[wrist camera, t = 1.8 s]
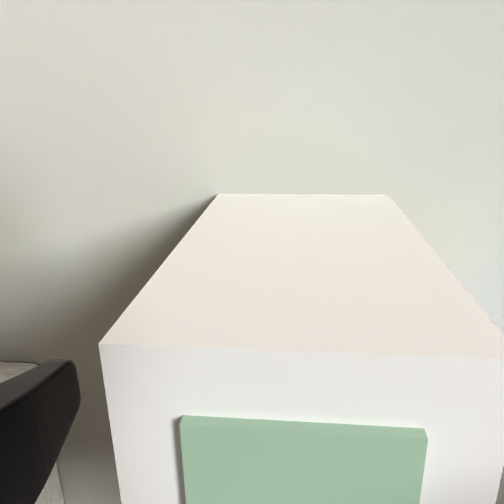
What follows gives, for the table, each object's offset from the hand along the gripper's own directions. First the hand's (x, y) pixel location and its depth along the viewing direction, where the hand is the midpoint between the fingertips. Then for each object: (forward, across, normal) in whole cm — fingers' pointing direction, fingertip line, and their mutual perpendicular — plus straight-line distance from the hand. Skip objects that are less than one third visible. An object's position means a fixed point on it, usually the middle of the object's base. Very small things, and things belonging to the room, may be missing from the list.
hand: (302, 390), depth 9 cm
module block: (+4, 0, 0) cm, 4 cm away
